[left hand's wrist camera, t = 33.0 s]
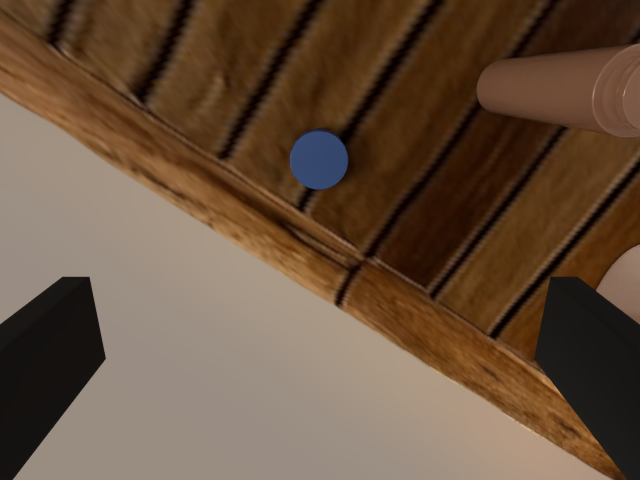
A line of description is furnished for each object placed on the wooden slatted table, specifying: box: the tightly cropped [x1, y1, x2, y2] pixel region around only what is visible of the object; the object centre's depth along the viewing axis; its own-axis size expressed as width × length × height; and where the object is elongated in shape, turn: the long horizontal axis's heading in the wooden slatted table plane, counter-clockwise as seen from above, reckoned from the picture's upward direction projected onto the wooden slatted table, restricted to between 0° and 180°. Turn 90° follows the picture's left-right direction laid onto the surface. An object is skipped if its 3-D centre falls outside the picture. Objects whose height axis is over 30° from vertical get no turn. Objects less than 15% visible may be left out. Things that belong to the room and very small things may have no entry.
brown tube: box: [477, 43, 640, 137], centre depth 30 cm, size 5×5×19 cm
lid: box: [290, 128, 349, 189], centre depth 40 cm, size 5×5×2 cm
